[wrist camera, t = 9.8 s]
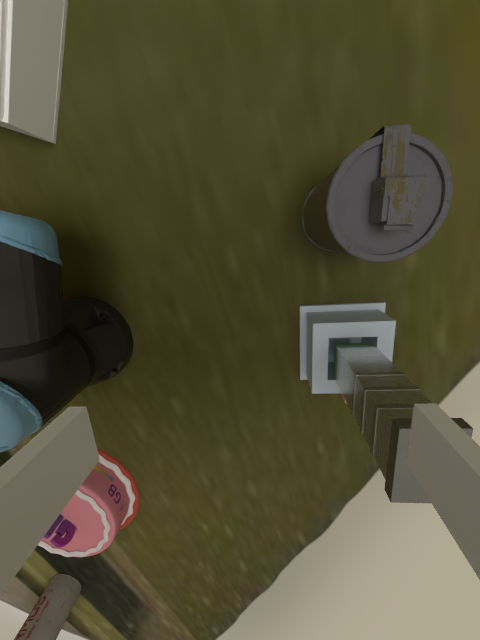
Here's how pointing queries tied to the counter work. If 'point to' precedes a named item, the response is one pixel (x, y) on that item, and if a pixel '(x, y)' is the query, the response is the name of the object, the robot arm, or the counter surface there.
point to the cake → (95, 511)
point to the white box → (31, 65)
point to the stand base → (339, 337)
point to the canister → (381, 198)
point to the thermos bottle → (51, 609)
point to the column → (383, 413)
